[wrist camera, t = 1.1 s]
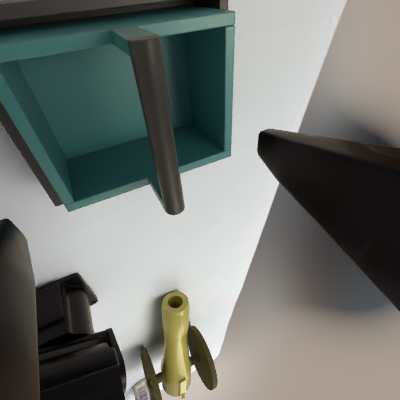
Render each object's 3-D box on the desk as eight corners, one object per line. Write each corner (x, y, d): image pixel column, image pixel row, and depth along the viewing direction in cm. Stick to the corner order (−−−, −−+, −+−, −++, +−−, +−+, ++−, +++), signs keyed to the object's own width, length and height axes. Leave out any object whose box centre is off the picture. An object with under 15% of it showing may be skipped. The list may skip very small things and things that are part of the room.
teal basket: (196, 125, 23) (260, 181, 16) (61, 164, 19) (74, 255, 13) (187, 4, 17) (283, 17, 10) (-12, 29, 13) (-56, 72, 7)
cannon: (134, 303, 37) (159, 387, 29) (203, 277, 42) (241, 343, 34) (138, 365, 52) (156, 431, 44) (189, 340, 57) (213, 396, 49)
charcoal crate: (204, 131, 24) (226, 149, 21) (52, 177, 20) (55, 206, 17) (197, -19, 17) (228, -19, 14) (-50, 5, 12) (-73, 11, 10)
